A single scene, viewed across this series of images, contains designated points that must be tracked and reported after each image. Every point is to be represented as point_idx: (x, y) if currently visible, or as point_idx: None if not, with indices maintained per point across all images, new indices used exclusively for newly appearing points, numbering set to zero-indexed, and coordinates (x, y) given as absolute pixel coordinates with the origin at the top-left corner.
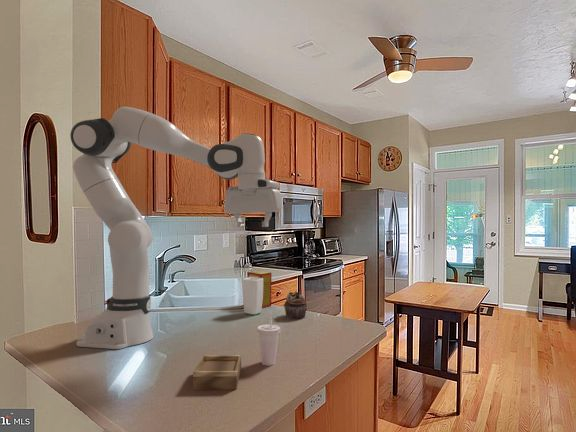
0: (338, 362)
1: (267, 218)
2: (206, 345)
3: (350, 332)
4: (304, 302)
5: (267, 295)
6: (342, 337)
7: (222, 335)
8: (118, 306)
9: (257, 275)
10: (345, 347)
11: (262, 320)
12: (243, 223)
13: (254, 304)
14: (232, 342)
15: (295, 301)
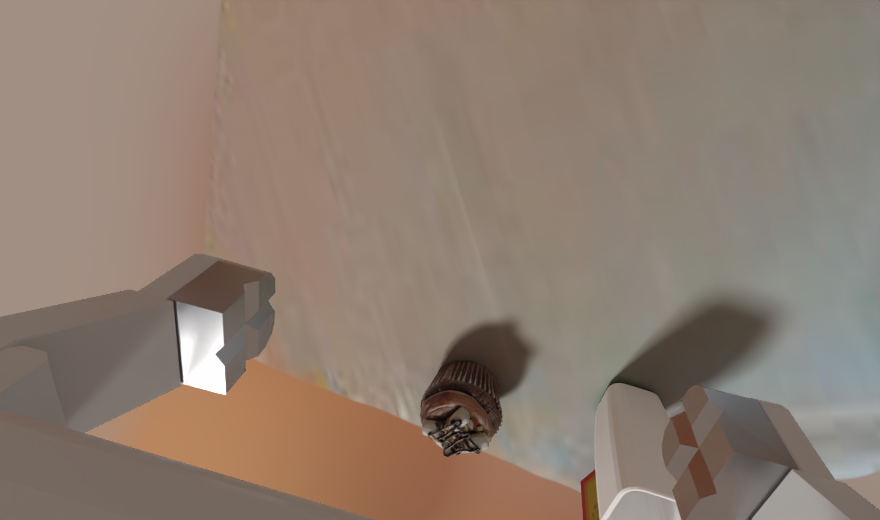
0: (224, 3)
1: (57, 312)
2: (708, 13)
3: (270, 266)
4: (422, 409)
5: (595, 510)
6: (277, 219)
7: (675, 145)
8: None
9: None
10: (245, 136)
11: (567, 334)
12: (682, 484)
13: (617, 406)
14: (609, 79)
15: (447, 399)
